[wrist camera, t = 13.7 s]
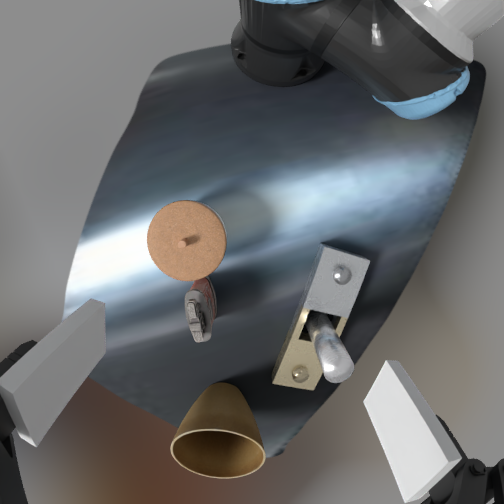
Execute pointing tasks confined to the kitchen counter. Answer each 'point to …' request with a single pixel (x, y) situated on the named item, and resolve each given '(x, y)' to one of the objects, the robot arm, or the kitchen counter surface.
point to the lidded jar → (187, 240)
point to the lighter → (201, 308)
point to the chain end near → (333, 282)
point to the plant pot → (219, 435)
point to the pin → (329, 348)
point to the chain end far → (300, 356)
